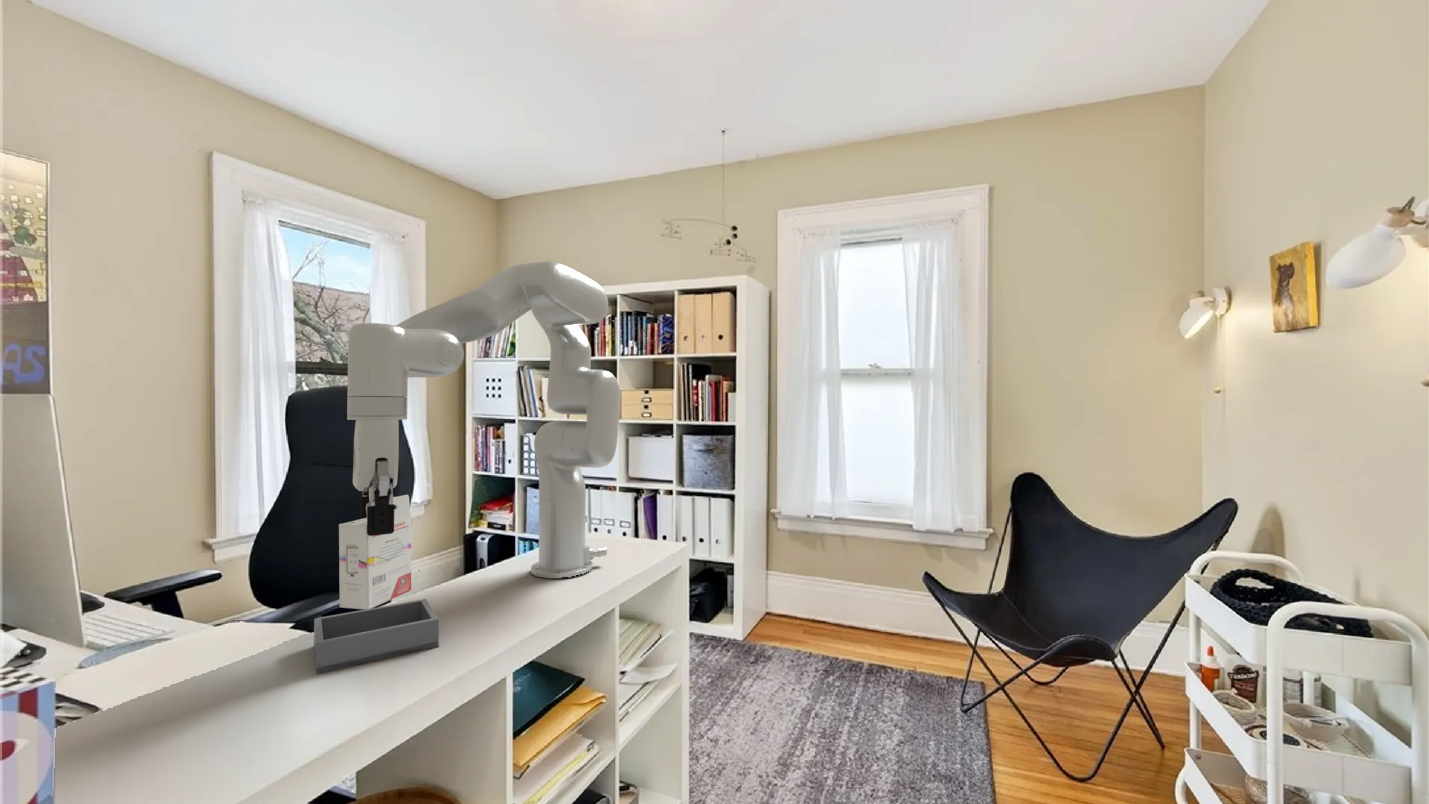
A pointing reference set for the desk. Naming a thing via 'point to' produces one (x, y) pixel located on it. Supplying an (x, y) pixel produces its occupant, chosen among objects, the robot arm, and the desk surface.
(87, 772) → the desk surface
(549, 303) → the robot arm
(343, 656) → the box
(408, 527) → the ink cartridge box
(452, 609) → the desk surface
